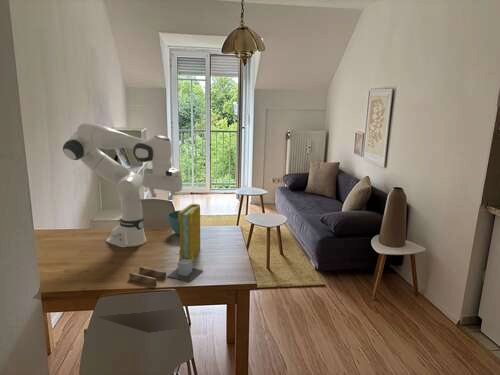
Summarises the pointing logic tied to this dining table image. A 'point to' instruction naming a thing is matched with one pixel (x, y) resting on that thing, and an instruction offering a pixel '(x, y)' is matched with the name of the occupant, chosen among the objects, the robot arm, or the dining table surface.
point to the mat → (185, 278)
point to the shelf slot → (145, 278)
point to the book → (189, 231)
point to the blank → (184, 267)
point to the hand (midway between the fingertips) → (162, 198)
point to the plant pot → (174, 221)
